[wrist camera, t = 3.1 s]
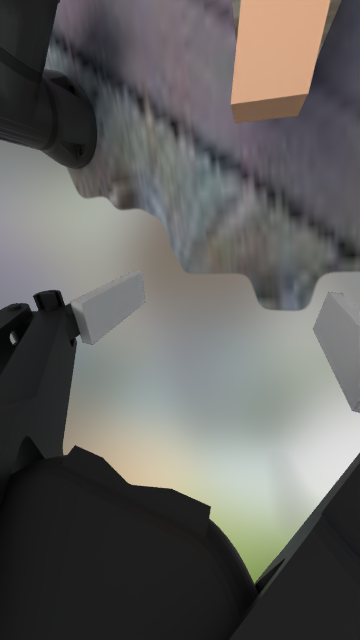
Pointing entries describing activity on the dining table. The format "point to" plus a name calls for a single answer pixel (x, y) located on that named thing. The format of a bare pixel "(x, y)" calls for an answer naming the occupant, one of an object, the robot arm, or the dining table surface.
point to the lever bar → (275, 57)
